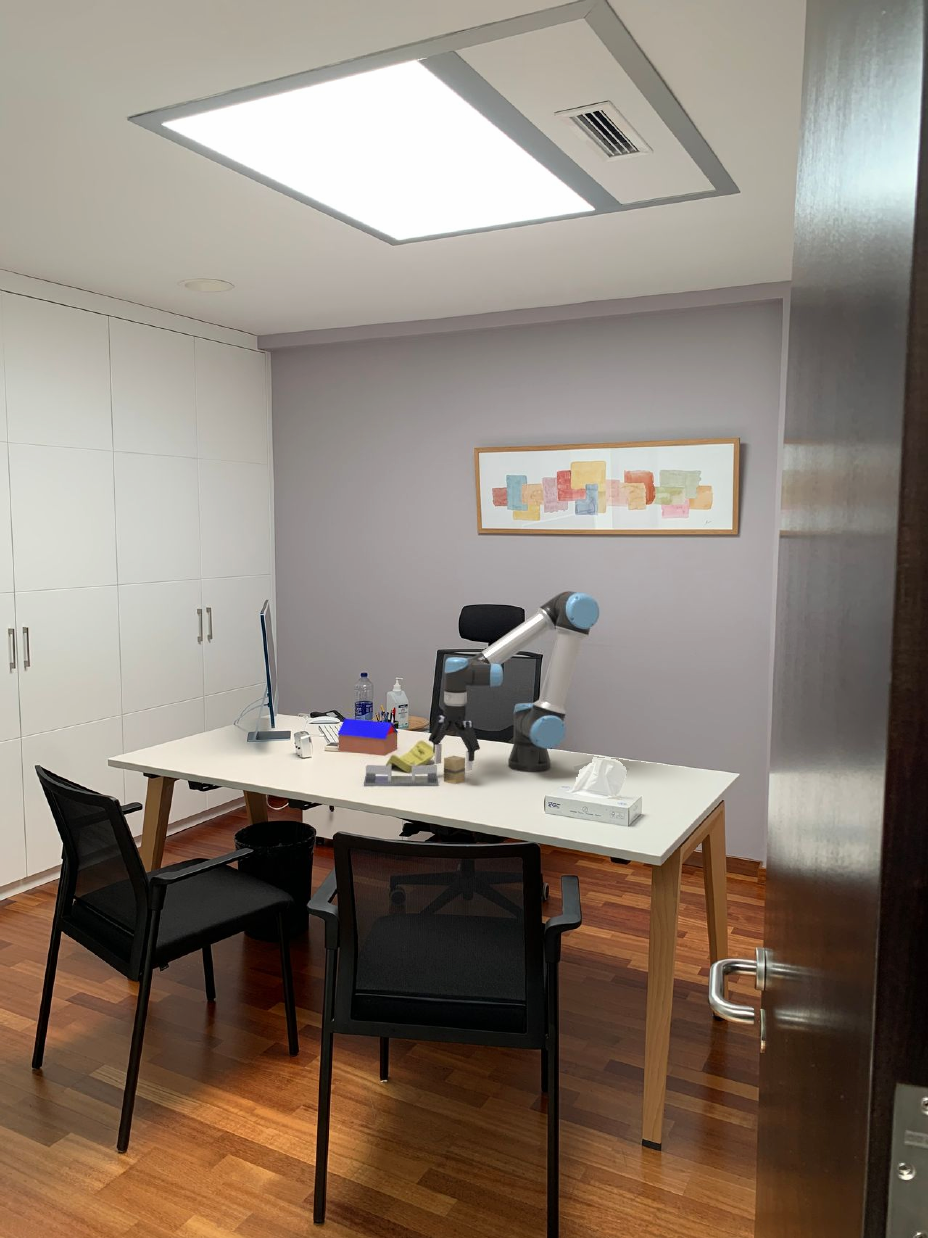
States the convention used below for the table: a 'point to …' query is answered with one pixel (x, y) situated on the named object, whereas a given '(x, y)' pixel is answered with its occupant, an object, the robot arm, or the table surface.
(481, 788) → the table surface
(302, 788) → the table surface
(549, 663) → the robot arm
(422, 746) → the plastic component
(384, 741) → the house
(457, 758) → the banded wooden block
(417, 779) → the shaft bench
